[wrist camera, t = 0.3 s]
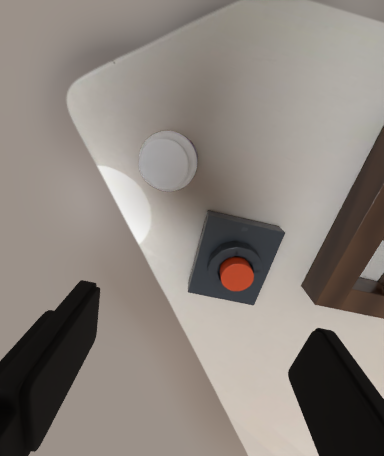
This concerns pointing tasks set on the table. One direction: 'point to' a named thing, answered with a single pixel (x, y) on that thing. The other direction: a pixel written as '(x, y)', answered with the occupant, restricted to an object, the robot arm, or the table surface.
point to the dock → (353, 246)
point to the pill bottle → (168, 161)
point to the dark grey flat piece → (233, 254)
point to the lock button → (236, 274)
